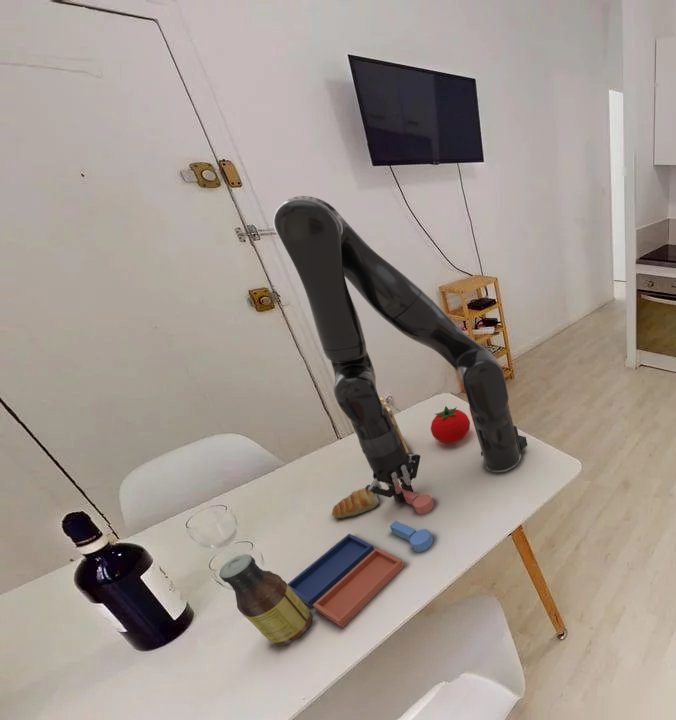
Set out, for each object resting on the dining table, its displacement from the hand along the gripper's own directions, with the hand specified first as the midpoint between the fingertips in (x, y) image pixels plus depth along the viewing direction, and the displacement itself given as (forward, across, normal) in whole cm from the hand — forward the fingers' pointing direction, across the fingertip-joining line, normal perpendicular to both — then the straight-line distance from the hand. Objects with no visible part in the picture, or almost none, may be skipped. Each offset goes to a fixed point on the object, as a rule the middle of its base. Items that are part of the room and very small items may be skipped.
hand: (406, 498), depth 101 cm
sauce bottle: (0, -30, -7) cm, 31 cm away
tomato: (0, +22, +6) cm, 23 cm away
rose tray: (0, -20, -12) cm, 23 cm away
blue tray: (0, -20, -2) cm, 20 cm away
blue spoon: (0, -8, -12) cm, 14 cm away
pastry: (0, -6, +8) cm, 10 cm away
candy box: (0, +12, +18) cm, 22 cm away
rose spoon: (0, 0, -4) cm, 4 cm away
